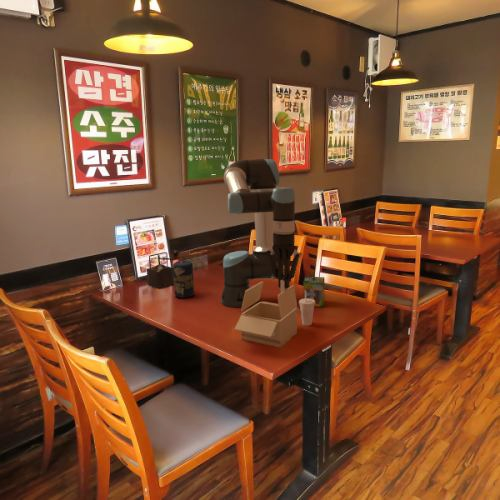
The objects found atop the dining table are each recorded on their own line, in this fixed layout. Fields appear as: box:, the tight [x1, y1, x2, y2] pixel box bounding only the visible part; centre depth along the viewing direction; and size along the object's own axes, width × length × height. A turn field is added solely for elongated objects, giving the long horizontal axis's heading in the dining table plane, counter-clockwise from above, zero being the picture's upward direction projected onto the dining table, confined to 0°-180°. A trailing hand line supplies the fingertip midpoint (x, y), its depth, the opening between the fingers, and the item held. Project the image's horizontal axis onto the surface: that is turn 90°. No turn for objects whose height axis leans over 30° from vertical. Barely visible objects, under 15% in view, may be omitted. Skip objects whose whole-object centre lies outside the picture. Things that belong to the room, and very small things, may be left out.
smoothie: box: [298, 290, 315, 326], centre depth 169 cm, size 6×6×14 cm
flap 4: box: [276, 284, 298, 318], centre depth 153 cm, size 8×13×1 cm
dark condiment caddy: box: [146, 250, 180, 290], centre depth 227 cm, size 16×11×18 cm
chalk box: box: [303, 270, 325, 308], centre depth 191 cm, size 9×9×15 cm
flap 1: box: [240, 280, 264, 312], centre depth 160 cm, size 8×13×1 cm
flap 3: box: [261, 301, 301, 313], centre depth 167 cm, size 15×6×1 cm
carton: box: [240, 301, 298, 349], centre depth 159 cm, size 16×14×10 cm
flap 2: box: [234, 314, 277, 337], centre depth 149 cm, size 15×6×1 cm
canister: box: [172, 260, 195, 299], centre depth 206 cm, size 10×10×18 cm
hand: (283, 296), depth 153 cm, fingers closed
